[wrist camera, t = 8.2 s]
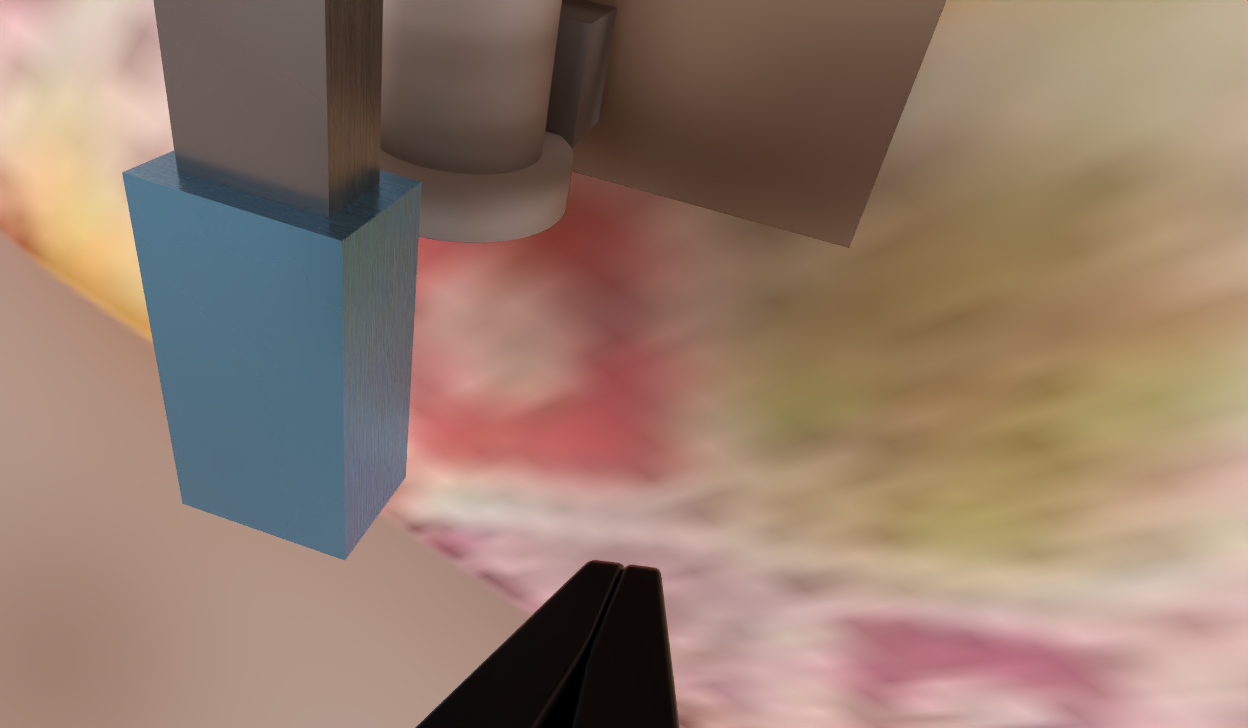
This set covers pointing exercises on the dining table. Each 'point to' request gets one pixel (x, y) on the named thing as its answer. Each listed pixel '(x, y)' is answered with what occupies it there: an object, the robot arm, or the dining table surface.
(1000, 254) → the dining table surface
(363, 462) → the lever
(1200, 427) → the dining table surface
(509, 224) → the valve board
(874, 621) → the dining table surface
